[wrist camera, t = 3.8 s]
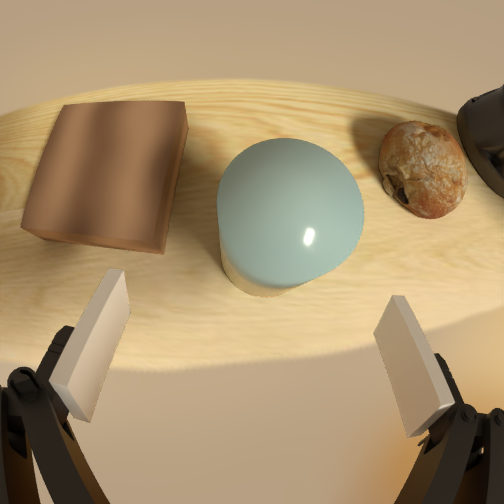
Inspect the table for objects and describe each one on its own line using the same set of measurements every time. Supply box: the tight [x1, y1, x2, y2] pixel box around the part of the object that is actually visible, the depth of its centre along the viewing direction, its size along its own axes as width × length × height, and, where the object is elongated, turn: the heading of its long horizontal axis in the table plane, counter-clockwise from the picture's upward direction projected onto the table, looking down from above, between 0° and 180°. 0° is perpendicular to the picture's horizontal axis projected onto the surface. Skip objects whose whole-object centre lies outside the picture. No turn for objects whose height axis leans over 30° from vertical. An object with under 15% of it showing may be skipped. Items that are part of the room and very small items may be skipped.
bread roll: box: [379, 121, 468, 219], centre depth 26 cm, size 10×10×8 cm
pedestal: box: [21, 101, 189, 254], centre depth 23 cm, size 12×12×4 cm
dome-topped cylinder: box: [217, 138, 364, 297], centre depth 19 cm, size 7×7×11 cm
